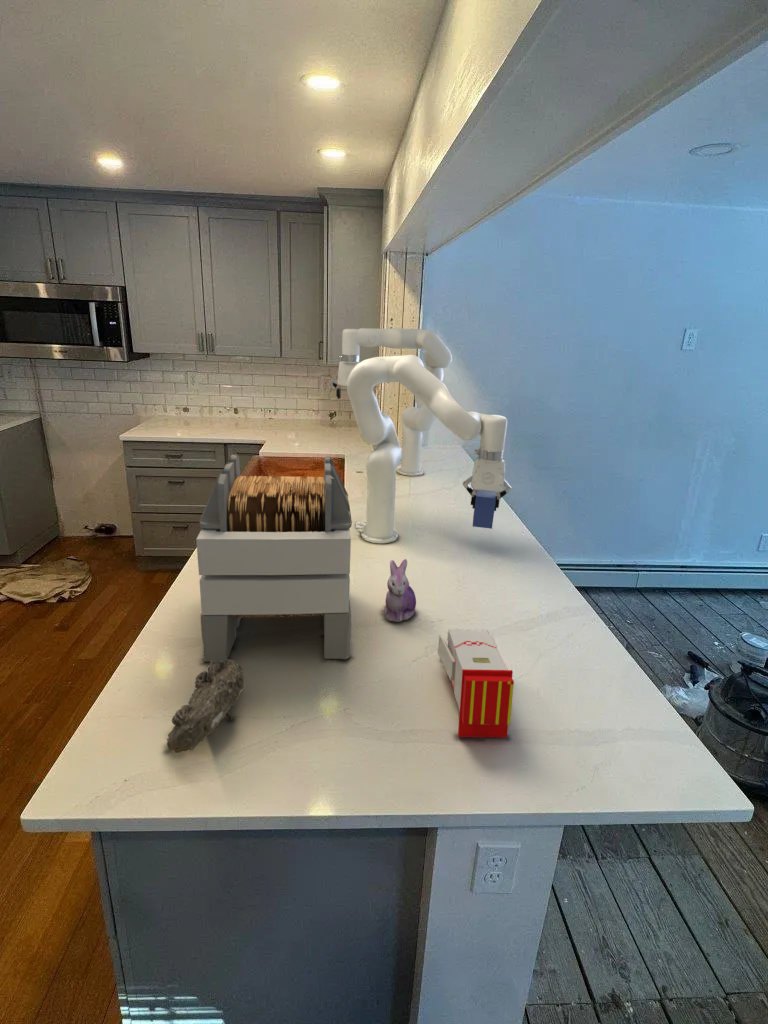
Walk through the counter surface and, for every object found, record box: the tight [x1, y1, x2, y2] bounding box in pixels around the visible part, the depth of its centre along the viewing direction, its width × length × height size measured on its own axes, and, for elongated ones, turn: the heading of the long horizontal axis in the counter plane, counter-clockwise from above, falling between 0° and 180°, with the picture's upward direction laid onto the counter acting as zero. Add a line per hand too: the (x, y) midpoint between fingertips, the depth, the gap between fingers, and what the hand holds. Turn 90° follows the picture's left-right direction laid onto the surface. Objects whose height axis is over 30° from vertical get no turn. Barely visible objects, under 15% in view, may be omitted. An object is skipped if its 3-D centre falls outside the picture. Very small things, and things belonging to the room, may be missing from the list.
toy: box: [437, 628, 515, 738], centre depth 117 cm, size 12×13×30 cm
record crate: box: [195, 453, 353, 663], centre depth 134 cm, size 34×33×41 cm
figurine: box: [384, 558, 417, 623], centre depth 145 cm, size 9×10×15 cm
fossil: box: [166, 658, 245, 754], centre depth 106 cm, size 22×10×15 cm
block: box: [472, 490, 496, 530], centre depth 185 cm, size 6×9×10 cm
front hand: (484, 507), depth 185 cm, fingers closed on block, 6 cm apart
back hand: (349, 399), depth 249 cm, fingers open, 9 cm apart
